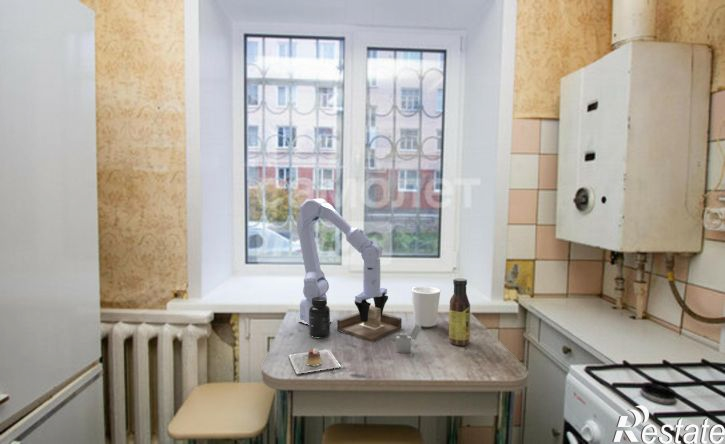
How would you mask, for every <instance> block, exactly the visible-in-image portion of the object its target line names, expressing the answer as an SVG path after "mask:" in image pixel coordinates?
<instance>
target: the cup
mask: <svg viewBox="0 0 725 444" xmlns="http://www.w3.org/2000/svg"><path fill="white" fill-rule="evenodd" d="M411 297H412V298H411V301H412V302H411V303H412V310H413V311H412V312H413V322H414V325H416V324H418V325H420V326H421V328H423V329H424V330H427V329H429V328H432V329H433V328H436V326H437V322H438V314H439V304H440V297H441V290H440V289H439V288H437V287H434V286H426V285H424V286H414V287H412V289H411Z"/></svg>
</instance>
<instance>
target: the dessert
mask: <svg viewBox="0 0 725 444" xmlns="http://www.w3.org/2000/svg"><path fill="white" fill-rule="evenodd" d="M320 352H328V354H329V355H330V356H331V358H332V359H333V361H334V363H335V364H336V366H337V367H335V366H333V367H328V368H321V369H315V370H308V371H302V372H301V371H300V373H299V372H298V370H297V368H296V366H295V364H294V362H293V360H292V358H291V356H294V355H301V354H302V355H303V354H308V356H306V357H307V358H306V361H305V364H306V363H307V364H309V365H317V364H320V363H321V362H322V363H323V360H322V356H321V354H320ZM288 358H289V360H290V363H291V364H292V367H293V370H294V371H295V374H296V375H302V374H301V373H304V374H309V373H308V372H310V373H314V371H316V372H321V371H320V370H322V371H327V369H328V370H334V369H338V368H341V367H342V365H341V364H340V362H339V361H338V359H337V358H336V357H335V355H334V354H333V352H332V351H331V349H330V348H328V349H321V350H318V349H317V348H316V347H314V348H311V350H309V351H307V352H306V351H305V352H299V353H293V354H288ZM333 368H334V369H333Z"/></svg>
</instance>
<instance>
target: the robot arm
mask: <svg viewBox="0 0 725 444" xmlns="http://www.w3.org/2000/svg"><path fill="white" fill-rule="evenodd" d="M319 219H322V220H326V221H327V220H328V221H329V222H330V223H332V224H333V225H334V226H335V227H336V228H337V229H338V230H340V231H341V232H342V233H343V234H344V235H345V239H346V242H348V243H349V244H350V245H351V246H352V247H353V248H354V249H355V250H356V251H357V252H358V253H360V254H361V259H362V260H363V282H362V283H363V284H362V285H363V289H362V290H363V291H362V292H360V293H359V294H358V295H355V296H354V297H355V300H354V305H355V306H356V307H357V309H358V313H360V317H361V321H362V322H367V321H368V311H369V307H370V306H372V305H371V304H372V303H371V302H369V301H368V300H370V299H373V302H374V307H377V308H381V316H382V313H383V311H384V308H385V305H386V303H387V301H388V300H389V296H388V295H387V294H388V288H386V287H385V288H384V287H381V259H380V258H381V256H382V254H383V249H382V247H381V246H380V245H379V244H378V243H376V242H375V241H374V240H373V239H371V238H369V236H367V235H366V234H365V233H364V232H365V231H364V230H363V229H362V228H361V229H359V228H358V227H353V226H351V225H350V223H348V221H347V220H346V219H344V217H343V216H342V215H341V214H340V212H338V211H337V210H336V209H335V208H334V207H333V206H332V205H331V204H330V203H329V202H327V200H326V199H323V198H314V199H313V198H308V199H306V200H305V201H304V202H303V203H302V204H301V205H300V206H299V214H298V217H297V221H296V229H297V233H298V239H299V242H300V243H299V244H300V250H301V255H302V259H303V265H304V270H305V275H304V278H303V289H302V293H303V295H304V297H303V298H301V301H300V303H299V320H300V319H301V320H304V321H305V322H307V323H308V324H309V308H310V307H311V306H313V305H312V298H314V297H325V298H327V299H328V297H327V294H326V293H328V290H329V288H330V285H329V281H328V279H326V276H325V273H324V272H323V270H322V269H321V263H320V258H319V251H318V248H317V243H316V237H315V232H314V225H315V224H316V223H317V222H318V220H319ZM330 322H331V323H333V321H332V320H330Z"/></svg>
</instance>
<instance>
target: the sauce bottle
mask: <svg viewBox="0 0 725 444" xmlns="http://www.w3.org/2000/svg"><path fill="white" fill-rule="evenodd" d="M452 281H453V295H452V296H451V297H450V299H449V309H448V312H449V314H448V317H449V319H448V337H449V338H448V339H449V340H448V341H449V342H450V343H451V345H455V346H463V347H464V346H466V345H468V344H469V342H470V335H471V334H470V333H471V331H470V330H471V329H470V328H471V304H470V301H469V297H468V295H467V285H468V280H467V279H466V278H460V277H459V278H454V279H453V280H452Z"/></svg>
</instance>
